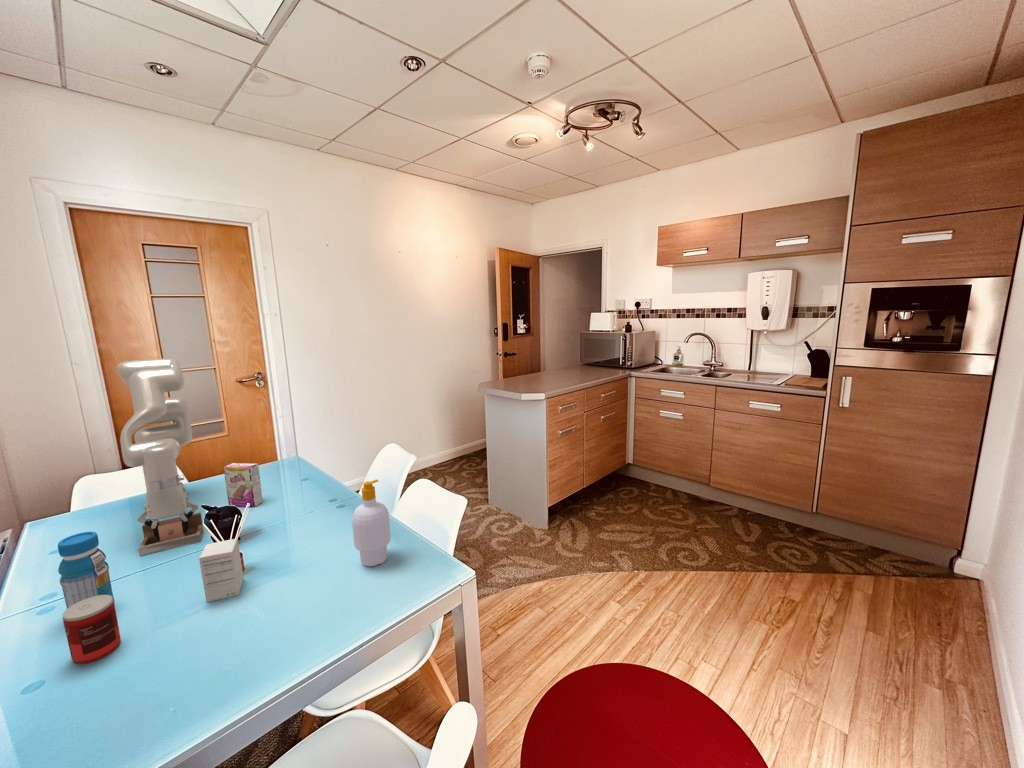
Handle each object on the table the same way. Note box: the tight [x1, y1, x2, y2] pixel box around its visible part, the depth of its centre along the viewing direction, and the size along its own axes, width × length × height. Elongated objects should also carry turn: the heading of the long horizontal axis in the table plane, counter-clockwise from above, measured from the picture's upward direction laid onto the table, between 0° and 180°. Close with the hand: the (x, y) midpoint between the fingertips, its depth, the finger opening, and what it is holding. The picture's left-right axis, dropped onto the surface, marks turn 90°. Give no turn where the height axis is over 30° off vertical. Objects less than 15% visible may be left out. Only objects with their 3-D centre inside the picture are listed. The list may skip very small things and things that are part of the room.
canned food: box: [62, 595, 122, 665], centre depth 90 cm, size 8×8×11 cm
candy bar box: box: [223, 462, 264, 508], centre depth 162 cm, size 11×5×16 cm, turn 84°
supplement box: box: [198, 538, 244, 603], centre depth 110 cm, size 7×7×13 cm
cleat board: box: [138, 512, 204, 557], centre depth 135 cm, size 9×15×6 cm, turn 122°
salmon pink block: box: [158, 516, 187, 542], centre depth 136 cm, size 5×6×7 cm
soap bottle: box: [351, 479, 391, 567], centre depth 121 cm, size 10×10×24 cm
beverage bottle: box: [57, 531, 116, 609], centre depth 102 cm, size 8×8×20 cm
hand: (172, 534), depth 136 cm, fingers closed on salmon pink block, 6 cm apart
